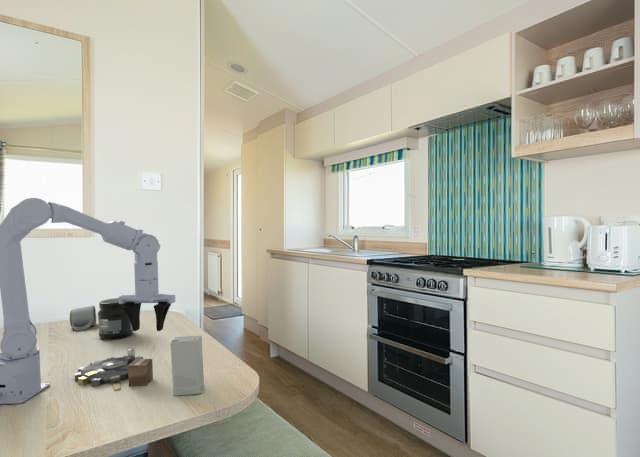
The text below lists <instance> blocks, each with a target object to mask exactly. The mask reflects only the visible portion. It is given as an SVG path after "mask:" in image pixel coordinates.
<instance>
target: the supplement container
mask: <svg viewBox="0 0 640 457" xmlns="http://www.w3.org/2000/svg"><path fill="white" fill-rule="evenodd" d="M98 305H99V306H98V307H99V309H100V310H98V312H97V316H98V337H99V338H100V339H102V340H106V341H107V340H108V341H113V340H114V341H115V340H120V339H124V338H127V337H130V336H131V335H133V333H134V331H133V328H132V325H131V322H130V320H129V318H128V316H127V314H126V313H125V311H124V310H123V306H125V303H124V304H119V297H115V298H108V299H103V300H101V301H99V304H98Z"/></svg>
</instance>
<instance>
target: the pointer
mask: <svg viewBox="0 0 640 457" xmlns="http://www.w3.org/2000/svg"><path fill="white" fill-rule="evenodd" d="M112 385H113V390H114V392H115V391H119V390H121V386H120V383H116V384H112Z"/></svg>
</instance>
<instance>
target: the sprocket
mask: <svg viewBox="0 0 640 457" xmlns="http://www.w3.org/2000/svg"><path fill="white" fill-rule="evenodd" d="M135 359H144V356H140V355H139V356H136V348H134V347H131V348H128V349H127V355H123V356H122V357H121V356H120V357H114V356H112V357H107V358H106V359H103V360H100V361H99V360H95V361H93V362H89V364H88V365H86V366H81V367H79V368H78V369H77V372H74V381H75V382H77V381H78V382H77V383H78V385H80V386H84V385H88V384H91V387H100V386H102V385H103V384H110V383H111V385H113V384H116V383H119V384H120V383H121V381H124V380H127V379H128V365H129V364H130V363H132V362H133V361H134V360H135Z"/></svg>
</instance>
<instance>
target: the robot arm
mask: <svg viewBox="0 0 640 457" xmlns="http://www.w3.org/2000/svg"><path fill="white" fill-rule="evenodd" d="M50 219H51V222H50V223H51V224H56V223H58V224H59V223H62V224H63V223H66V224H70V225H73V226H76V227H78V228H82V229H84V230H87V231H90V232H93V233H96V234H99V235H100V236H101V238H102V241H103V242H104V243H107V244H110V245H112V246H116V247H117V248H121V249H123V250H127V251H132V252H133V253H134V262H133V264H134V265H133V267H134V268H133V270H134V294H127V295H126V294H124V295H120V296H118V298H119V304H124V303H125V306H123V310H124V311H125V313H126V314H127V316H128V318H129V320H130V322H131V325H132V328H133V332H137V331H139V330H140V329H141V328H140V326H141V322H140V316H141V315H140V314H141V308H142V304H154V305H153V310H154V313H155V321H156V323H155V324H156V325H155V327H156V332H161V331H163V329H164V324H165V320H166V317H167V314H168V312H169V309H170V307H171V305H172V304H174V303H176V294H164V293H159V292H160V290H159V288H160V287H159V262H158V252H159V251H160V249H161V244H160V243H159V240H158V238H157V237H156V236H155V235H153V234H147V233H145V232H144V230H143V229H141V228H139V229H136V228H133V227H131V226H128V225H126V222H125V221H123V220H119V221H117V220H112V221H109V222H105V221H102V220H99V219H98V218H95V217H92V216H91V215H87V214H86V213H83V212H80V211H79V210H76V209H74V208H72V207H69V206H66V205H63V204H58V203H56V202H51V201H48V202H47V201H45V200H43V199H42V198H38V197H29V198H25V199H23V200H21V201H20V202H19V203H17V204H16V205H15V206H13V207H11V208H10V210H9V212H8V214H7V215H5V217H4V219H3V220H2V222H0V299H1V305H2V314H3V315H2V316H3V332H2V338H1V340H0V351H1V353H0V405H5V404H6V405H7V404H8V405H9V404H23V403H24V402H27V401H28V400H30V399H31V398H32V397H34V396H35V395H37V394H38V393H39V392H40V393H41V392H42V391H43V390H45V389H46V388H48V387H49V386H50V385H51V383H50V382H45V383H44V382H41V381H42V379H41V377H42V376H41V356H40V354H41V353H40V352H41V351H40V347H38V346H36V345H37V343H38V342H37V341H38V340H37V339H38V338H37V331H38V330H37V328H36V326H35V325H34V324H33V322H32V320H31V317H30V310H29V309H30V308H29V303H28V296H27V295H28V294H27V287H26V285H27V284H26V278H25V277H26V276H25V269H24V261H23V260H24V259H23V253H22V246H21V245H22V244H21V242H22V240H24V238H25V237H27V235H29V234H30V233H31V231H32V230H35V229H37V228H39V227H41V226H43V225H45V224H46V223H47V222H49V220H50Z"/></svg>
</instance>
